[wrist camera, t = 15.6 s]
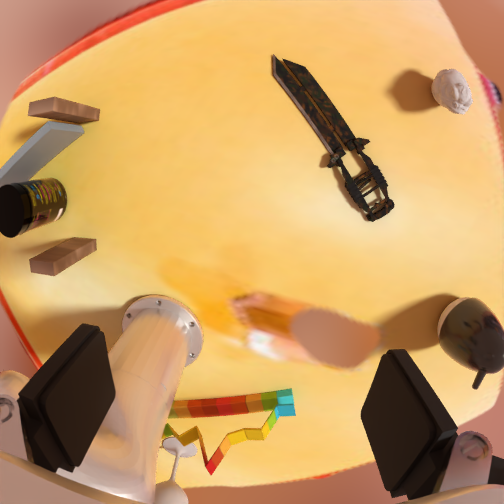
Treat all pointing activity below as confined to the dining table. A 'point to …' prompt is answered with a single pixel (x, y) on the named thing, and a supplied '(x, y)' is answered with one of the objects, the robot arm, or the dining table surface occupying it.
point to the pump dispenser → (472, 337)
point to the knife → (327, 133)
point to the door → (39, 151)
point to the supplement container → (30, 205)
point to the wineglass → (173, 474)
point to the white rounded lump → (452, 91)
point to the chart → (230, 406)
